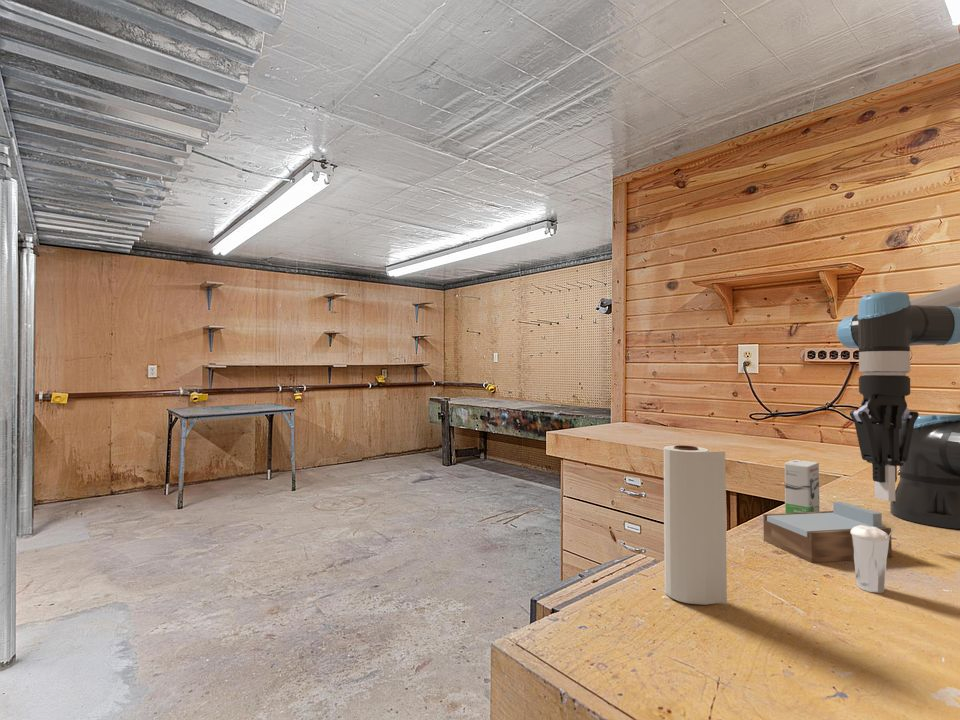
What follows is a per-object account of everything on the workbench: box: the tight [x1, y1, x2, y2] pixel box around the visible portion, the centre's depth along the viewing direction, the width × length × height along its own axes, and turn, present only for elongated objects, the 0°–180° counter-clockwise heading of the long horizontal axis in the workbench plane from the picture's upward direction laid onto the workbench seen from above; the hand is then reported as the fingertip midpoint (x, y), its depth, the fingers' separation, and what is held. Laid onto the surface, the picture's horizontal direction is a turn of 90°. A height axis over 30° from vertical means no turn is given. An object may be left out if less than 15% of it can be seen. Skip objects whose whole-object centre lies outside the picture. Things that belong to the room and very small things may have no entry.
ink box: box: [784, 459, 820, 513], centre depth 111 cm, size 9×5×12 cm, turn 131°
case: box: [762, 510, 893, 564], centre depth 89 cm, size 16×11×5 cm
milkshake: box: [850, 525, 896, 594], centre depth 72 cm, size 4×5×10 cm
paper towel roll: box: [663, 444, 728, 606], centre depth 69 cm, size 7×6×21 cm
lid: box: [767, 501, 887, 537], centre depth 89 cm, size 16×9×3 cm, turn 99°
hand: (884, 499), depth 91 cm, fingers closed
